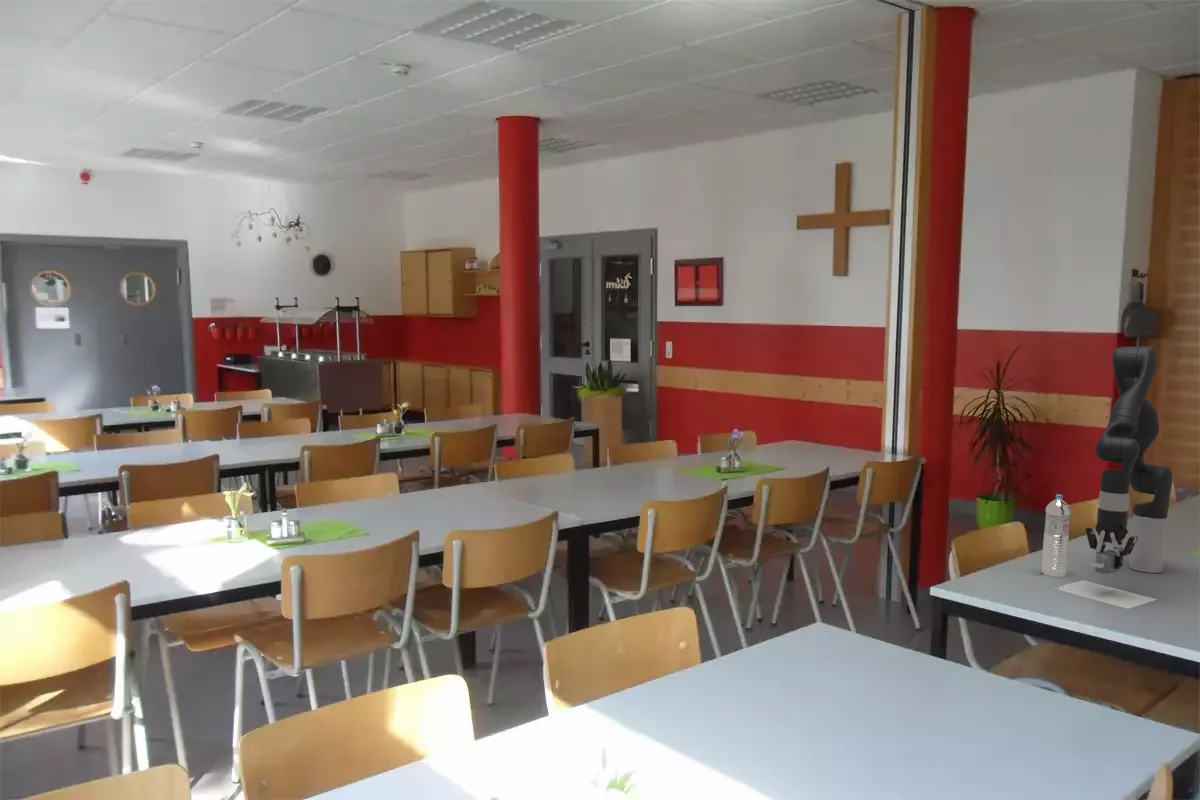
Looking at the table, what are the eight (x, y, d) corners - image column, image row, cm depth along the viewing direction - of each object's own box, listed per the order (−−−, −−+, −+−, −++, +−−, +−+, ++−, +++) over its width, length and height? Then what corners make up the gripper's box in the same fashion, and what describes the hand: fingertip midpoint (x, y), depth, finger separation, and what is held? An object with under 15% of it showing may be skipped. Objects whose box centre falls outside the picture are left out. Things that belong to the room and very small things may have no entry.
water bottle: (1052, 579, 276) (1058, 497, 274) (1036, 572, 283) (1041, 493, 281) (1071, 578, 278) (1077, 496, 276) (1054, 571, 285) (1060, 492, 282)
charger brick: (1110, 565, 265) (1111, 548, 265) (1124, 569, 262) (1126, 552, 262) (1088, 572, 259) (1089, 554, 258) (1102, 575, 255) (1103, 558, 255)
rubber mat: (1082, 582, 274) (1082, 580, 274) (1157, 601, 257) (1157, 599, 257) (1052, 590, 265) (1052, 588, 265) (1127, 610, 248) (1127, 608, 248)
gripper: (1146, 510, 255) (1141, 571, 257) (1095, 501, 267) (1090, 558, 269) (1132, 513, 251) (1127, 575, 253) (1081, 504, 263) (1076, 562, 265)
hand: (1108, 566), depth 261 cm, fingers closed on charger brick, 4 cm apart
